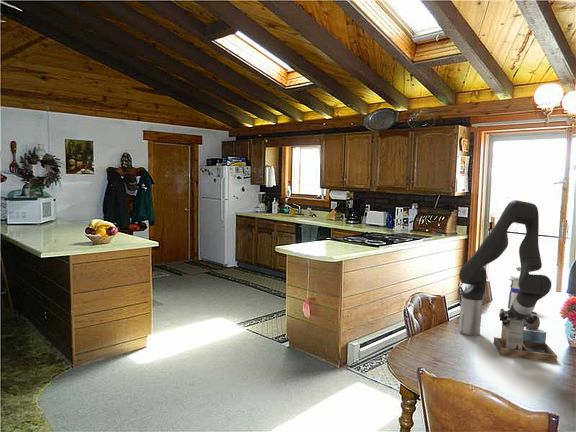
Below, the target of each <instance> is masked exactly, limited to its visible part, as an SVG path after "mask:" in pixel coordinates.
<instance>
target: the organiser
mask: <svg viewBox="0 0 576 432" xmlns="http://www.w3.org/2000/svg"><path fill="white" fill-rule="evenodd" d="M546 341H547V332H546V331H545V332H544V331H540V330H539V331H538V330H530V329H524V332H523V343H522V350H515V349H507V348H503V347H502V345H501V337H497V336H494V337H493V346H494V347H495V348H496V350H497V352H498V353H499V355H500V356H501V357H502V356H503V357H508V358H509V357H510V358H518V359H526V360H532V361H541V362H547V363H555V364H557V362H558V361H557V360H558V354H557V353H556V352H554V350H553V349H552V348H551V347H550V346H549V345H548V344H547V343H546Z"/></svg>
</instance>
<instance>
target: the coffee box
mask: <svg viewBox="0 0 576 432" xmlns="http://www.w3.org/2000/svg"><path fill="white" fill-rule="evenodd" d="M524 330H525V327H524V322H523V321H522V320H518V319H514V320H512V321H508V322H507V324H506V326H504V324H501V337H500V338H501V345H502V347H503V348H507V349H515V350H522V343H523V332H524Z"/></svg>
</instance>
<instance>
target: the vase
mask: <svg viewBox="0 0 576 432" xmlns="http://www.w3.org/2000/svg"><path fill="white" fill-rule="evenodd" d="M534 312H535V311H532V313H531V314H533V313H534ZM530 317H531V316H530ZM530 317H529V318H530ZM537 317H538V319H537V320H536V321H535V322H534V323H533V324H530V323H528V324H527V325H526V327H525V328H526V330H530V331H537V330H539V327H540V325H541V320H540V318H539V316H538V315H537ZM529 318H527V319H529Z"/></svg>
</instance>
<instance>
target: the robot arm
mask: <svg viewBox="0 0 576 432" xmlns="http://www.w3.org/2000/svg"><path fill="white" fill-rule="evenodd" d="M538 208H539V207H537V205H536V204H534V203H531V202H529V201H523V200H518V199H516V200H514V199H513V200H511V201H510V202H509V203H508V204H507V205H506V206H505V208H504V210H503V211H502V214H501V216H500V217H499V219H498V220H497V221H496V224H495V225H494V226H493V227H492V230H490V232H489V234H488V235H486V237H485V239H484V240H483V241H482V242H481V244H480V246H479V247H478V248H477V250H476V251H475V252H474V254H473V255H472V256H471V257H470V258H469V259H468V260H467V261H466V262H465V264H464V265H462V267H461V268H460V271H459V273H458V276H459V281H460V282H461V283H462V284H465V285H470V286H469V287H468V288H466V289H464V290H462V293H461V303H460V310H459V319H458V320H459V322H458V331H459V333H460V334H463V335H466V336H471V337H474V336H475V337H476V336H479V335H481V326H482V325H481V323H482V312H483V310H482V309H483V300H484V296H485V292H486V285H487V271H486V269H485V266H487V265H488V264H490V263H492V262H494V261H496V260H497V259H498V258H500V257H501V256H502V255H503V253H504V252H505V251H506V250H507V248H508V245H509V237H508V230H509V228H510V227H511V225H512V224H514V223H515V224H521V225H524V226H525V227H524V228H525V235H524V237H523V239H522V241H521V242H520V245H519V248H518V255H519V261H520V268H521V270H520V271H519V276H520V277H519V283H518V285H519V288H520V290H519V292H518V294H517V296H516V297H515V299H514V301H513V303H512V305H511V308H510V309H509V308H508V310H504V308H500V310H499V314H498V316H499V321H500V322H501V323H502V324H504V326H506V324H507V322H508V321H512V320H514V319H518V320H522V321H523V322H524V328H526V325H527V324H528V323H530V324H533V323H534V322H535V321H536V320H537V319H538V318H539V316H538V313H537V312H536V311H534V309H535V307H536V304H537V303H538V301H540V300H541V299H543V298H544V297H546V296H547V295H548V294H549V293H550V291H551V289H552V281H551V279H550V277H549V276H547V275H545V274H530V273H531V272H537V271H539V270H541V269H542V266H543V263H542V262H543V261H542V258H541V252H540V248H539V247H540V246H539V245H540V244H539V233H540V232H539V231H540V230H539V225H540V223H539V218H540V216H539V215H540V214H539V209H538ZM532 312H534V313H533V314H531V313H532ZM530 316H531V317H530ZM537 316H538V317H537ZM529 317H530V318H529ZM527 318H529V319H527ZM502 324H501V325H502Z"/></svg>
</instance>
